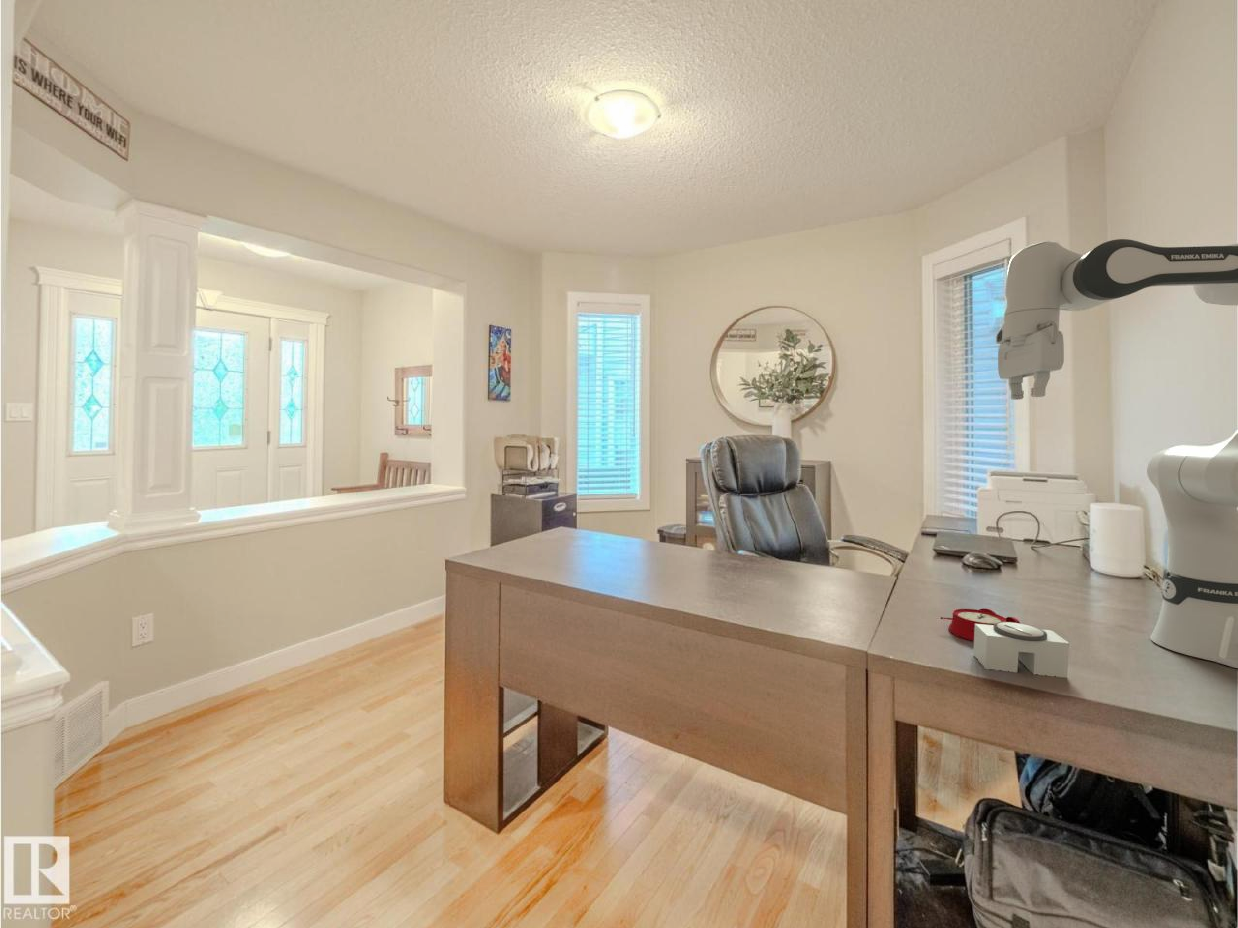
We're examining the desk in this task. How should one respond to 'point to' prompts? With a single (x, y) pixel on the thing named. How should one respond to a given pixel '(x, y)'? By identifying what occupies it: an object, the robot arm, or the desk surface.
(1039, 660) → the dial gauge
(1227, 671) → the desk surface
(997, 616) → the alarm clock
